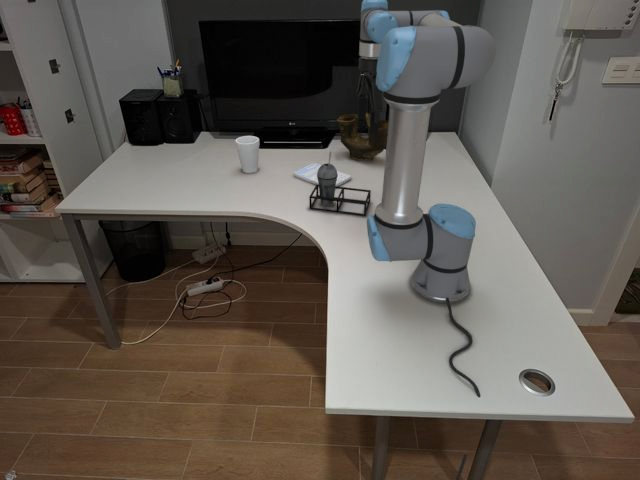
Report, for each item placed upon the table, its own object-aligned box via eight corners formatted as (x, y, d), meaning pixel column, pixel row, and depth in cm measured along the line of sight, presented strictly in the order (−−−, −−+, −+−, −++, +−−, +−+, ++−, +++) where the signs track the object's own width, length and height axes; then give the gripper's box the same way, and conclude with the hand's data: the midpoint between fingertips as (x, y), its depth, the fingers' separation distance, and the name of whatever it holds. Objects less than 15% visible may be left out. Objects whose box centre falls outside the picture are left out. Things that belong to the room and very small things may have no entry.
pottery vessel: (392, 160, 193) (397, 115, 182) (380, 168, 185) (384, 122, 174) (345, 147, 205) (346, 104, 194) (331, 155, 198) (332, 110, 187)
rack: (365, 216, 153) (366, 203, 150) (309, 209, 157) (309, 196, 154) (370, 202, 161) (370, 190, 158) (316, 196, 165) (316, 184, 162)
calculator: (330, 190, 169) (330, 186, 168) (292, 176, 180) (292, 171, 178) (351, 179, 177) (352, 175, 176) (314, 165, 188) (314, 161, 187)
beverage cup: (313, 202, 161) (313, 150, 150) (331, 198, 164) (332, 146, 153) (322, 211, 156) (322, 157, 145) (340, 206, 158) (342, 154, 147)
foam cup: (263, 172, 182) (261, 142, 175) (241, 176, 180) (238, 145, 172) (257, 163, 190) (255, 134, 183) (236, 167, 187) (233, 137, 180)
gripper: (397, 65, 125) (391, 137, 136) (370, 48, 145) (367, 112, 157) (372, 66, 123) (367, 139, 135) (348, 49, 144) (346, 114, 155)
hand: (367, 125), depth 146 cm, fingers open, 13 cm apart
